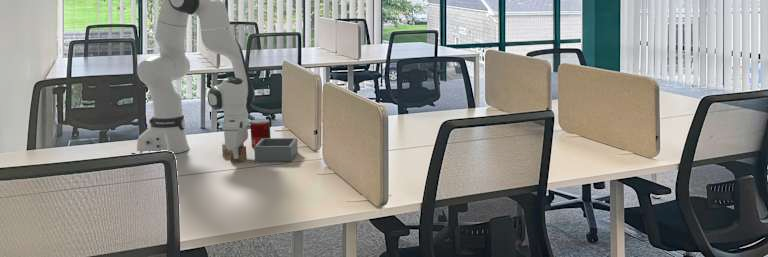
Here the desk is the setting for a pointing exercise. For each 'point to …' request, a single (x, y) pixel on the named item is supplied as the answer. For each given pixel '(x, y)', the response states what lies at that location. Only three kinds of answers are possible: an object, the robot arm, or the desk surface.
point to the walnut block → (241, 155)
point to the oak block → (225, 150)
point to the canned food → (259, 130)
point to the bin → (276, 150)
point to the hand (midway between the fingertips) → (238, 156)
